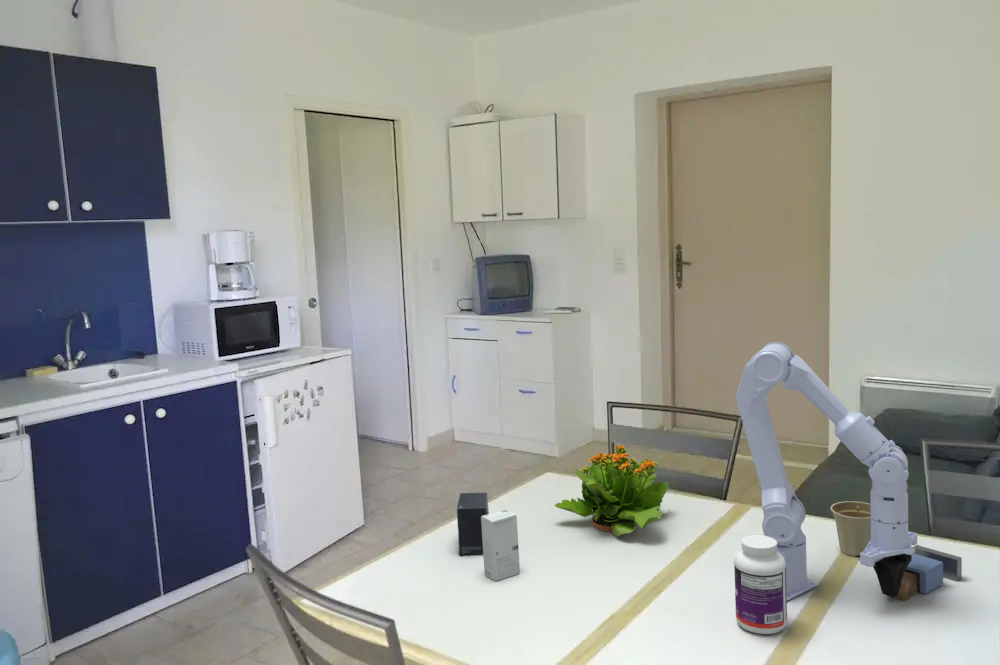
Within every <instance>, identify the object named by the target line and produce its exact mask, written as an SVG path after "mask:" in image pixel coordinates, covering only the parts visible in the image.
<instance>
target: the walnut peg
mask: <svg viewBox="0 0 1000 665" xmlns="http://www.w3.org/2000/svg"><path fill="white" fill-rule="evenodd" d="M918 591H920V573H917V572H914V571H910V570H907V569H906V570H905V572H904V575H903V578H902V581H901V585H900V589H899V592H898V595H897V596H895V597H892V598H894V599H897V600H900V601H904V602H905V601H907V600H909V599H910V598H911V597H912V596H914V594H916V593H917V592H918Z"/></svg>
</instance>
